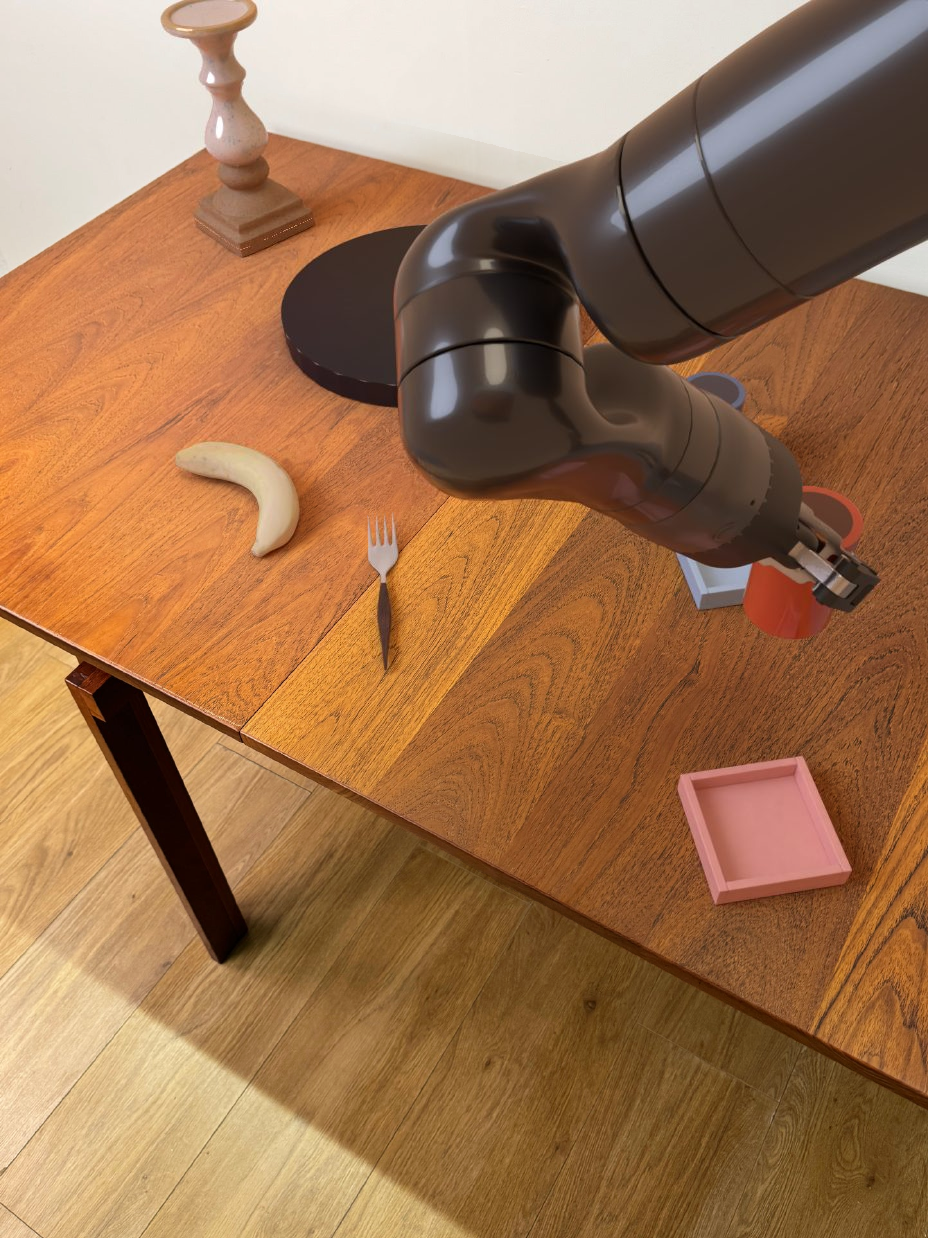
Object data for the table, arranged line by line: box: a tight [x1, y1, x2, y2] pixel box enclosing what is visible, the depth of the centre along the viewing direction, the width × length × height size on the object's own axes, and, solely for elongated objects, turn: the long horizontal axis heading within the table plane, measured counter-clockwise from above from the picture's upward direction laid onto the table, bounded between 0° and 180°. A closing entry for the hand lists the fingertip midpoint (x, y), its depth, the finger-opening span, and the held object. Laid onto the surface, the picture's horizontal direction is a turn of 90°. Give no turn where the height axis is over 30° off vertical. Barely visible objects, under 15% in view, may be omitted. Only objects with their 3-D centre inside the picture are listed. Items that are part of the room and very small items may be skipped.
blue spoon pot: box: [685, 371, 747, 413], centre depth 88 cm, size 6×6×8 cm
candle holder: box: [160, 0, 316, 258], centre depth 114 cm, size 11×11×24 cm
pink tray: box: [676, 755, 853, 906], centre depth 67 cm, size 9×9×2 cm
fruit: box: [174, 440, 300, 558], centre depth 90 cm, size 7×15×3 cm, turn 38°
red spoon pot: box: [742, 485, 864, 640], centre depth 62 cm, size 6×6×8 cm
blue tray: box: [675, 552, 751, 611], centre depth 86 cm, size 10×20×2 cm, turn 8°
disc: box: [280, 224, 429, 409], centre depth 107 cm, size 30×30×3 cm
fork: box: [367, 512, 399, 671], centre depth 82 cm, size 3×16×2 cm, turn 4°
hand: (821, 550), depth 62 cm, fingers closed on red spoon pot, 5 cm apart
